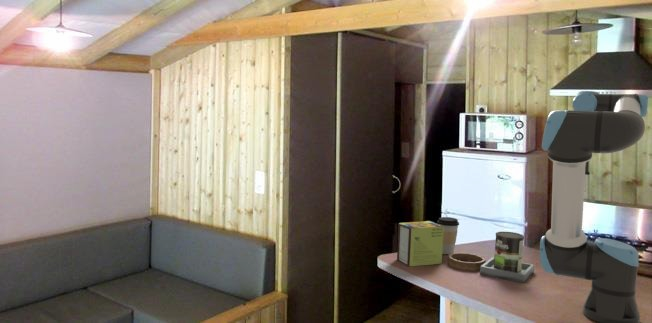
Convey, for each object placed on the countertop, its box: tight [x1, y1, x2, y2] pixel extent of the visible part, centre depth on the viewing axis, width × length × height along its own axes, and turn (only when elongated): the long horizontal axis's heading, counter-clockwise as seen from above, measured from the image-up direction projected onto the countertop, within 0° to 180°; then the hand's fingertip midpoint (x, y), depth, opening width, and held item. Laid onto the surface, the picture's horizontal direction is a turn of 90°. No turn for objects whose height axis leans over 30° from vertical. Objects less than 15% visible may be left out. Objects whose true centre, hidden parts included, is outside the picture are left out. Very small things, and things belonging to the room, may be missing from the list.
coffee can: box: [494, 231, 525, 273], centre depth 194 cm, size 10×10×14 cm
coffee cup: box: [436, 216, 460, 255], centre depth 220 cm, size 9×9×15 cm
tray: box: [479, 256, 535, 284], centre depth 194 cm, size 16×16×3 cm
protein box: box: [396, 220, 444, 267], centre depth 206 cm, size 10×15×16 cm
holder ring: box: [447, 252, 487, 272], centre depth 203 cm, size 14×14×3 cm
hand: (577, 192), depth 185 cm, fingers open, 13 cm apart
